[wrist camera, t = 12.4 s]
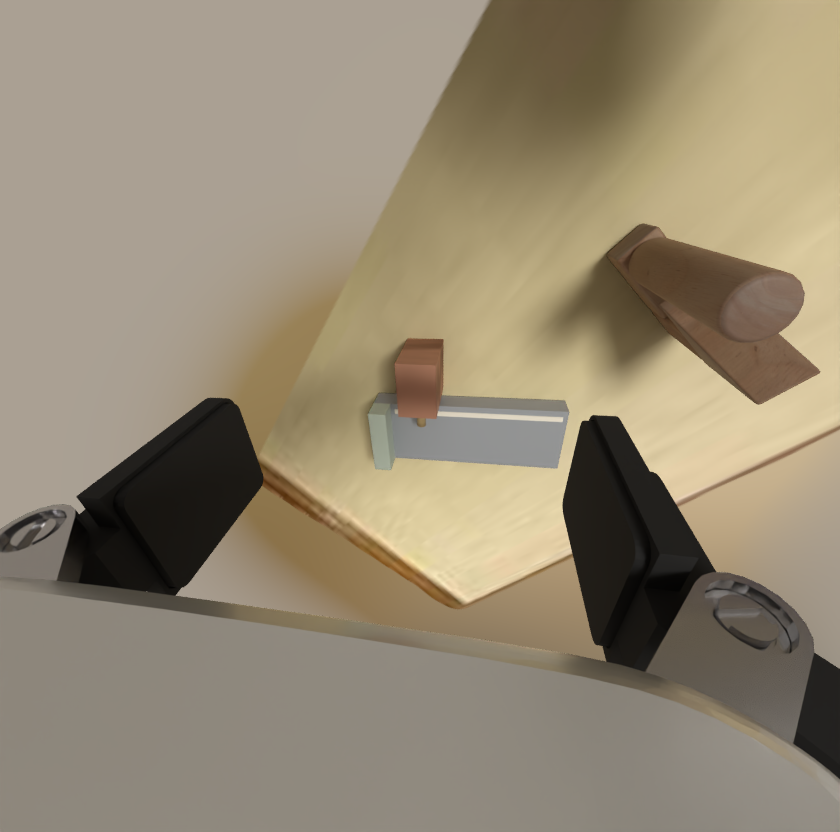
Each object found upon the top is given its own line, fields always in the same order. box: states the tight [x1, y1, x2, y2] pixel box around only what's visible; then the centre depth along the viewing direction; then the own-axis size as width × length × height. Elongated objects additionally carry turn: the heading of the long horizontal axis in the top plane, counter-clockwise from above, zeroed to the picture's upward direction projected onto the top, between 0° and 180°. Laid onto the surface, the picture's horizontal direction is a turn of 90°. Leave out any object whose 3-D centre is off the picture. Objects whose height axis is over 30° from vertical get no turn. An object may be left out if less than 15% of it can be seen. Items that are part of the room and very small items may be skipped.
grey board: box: [368, 393, 569, 470], centre depth 43 cm, size 8×22×5 cm, turn 92°
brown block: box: [394, 338, 443, 427], centre depth 39 cm, size 8×4×7 cm, turn 2°
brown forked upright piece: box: [607, 224, 820, 405], centre depth 26 cm, size 4×11×18 cm, turn 48°
